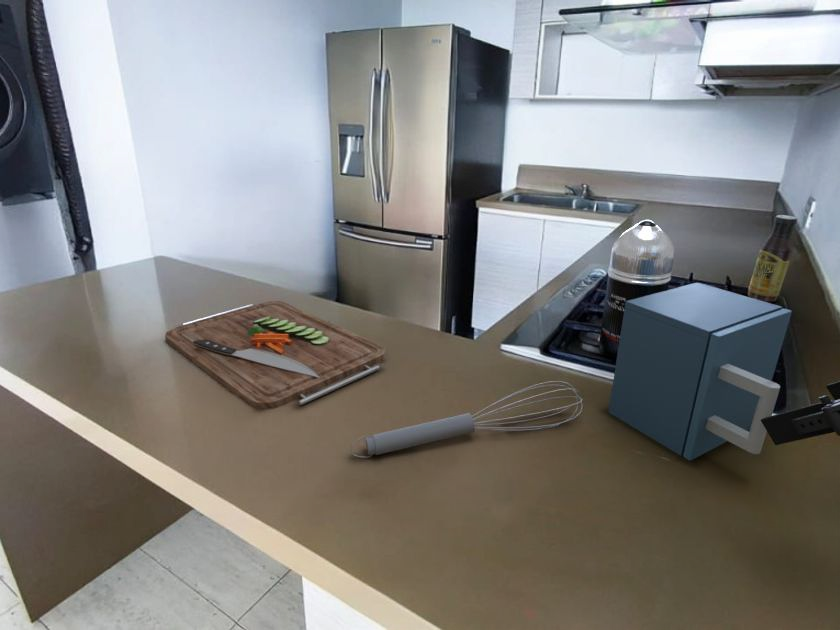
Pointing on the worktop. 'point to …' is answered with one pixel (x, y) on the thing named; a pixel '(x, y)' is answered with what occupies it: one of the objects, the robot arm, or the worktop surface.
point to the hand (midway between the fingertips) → (803, 412)
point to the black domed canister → (634, 276)
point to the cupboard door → (738, 385)
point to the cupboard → (671, 356)
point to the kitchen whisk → (448, 427)
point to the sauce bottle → (773, 261)
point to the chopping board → (275, 352)
